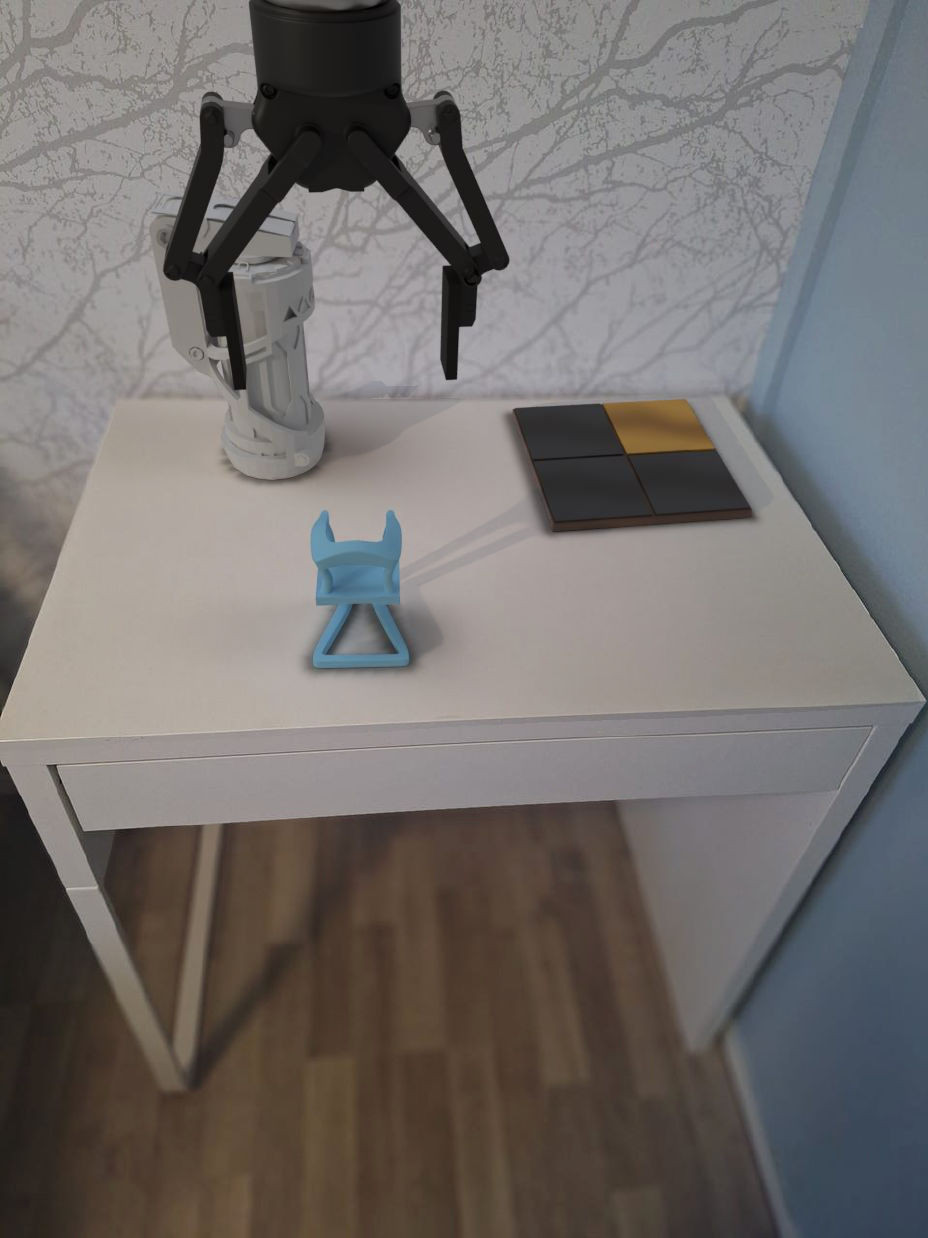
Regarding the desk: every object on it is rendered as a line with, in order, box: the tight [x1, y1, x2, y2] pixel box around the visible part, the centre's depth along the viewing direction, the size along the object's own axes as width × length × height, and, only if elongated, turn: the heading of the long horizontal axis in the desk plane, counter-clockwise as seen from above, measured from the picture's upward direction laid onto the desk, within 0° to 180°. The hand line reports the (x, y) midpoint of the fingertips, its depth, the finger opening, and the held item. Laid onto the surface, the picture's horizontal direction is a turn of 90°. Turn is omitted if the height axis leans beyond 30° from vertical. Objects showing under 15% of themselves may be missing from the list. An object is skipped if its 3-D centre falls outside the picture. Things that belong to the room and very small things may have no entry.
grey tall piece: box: [148, 189, 326, 481], centre depth 86 cm, size 13×10×25 cm
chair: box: [309, 509, 410, 669], centre depth 73 cm, size 8×8×12 cm
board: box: [511, 398, 753, 532], centre depth 96 cm, size 20×20×1 cm
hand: (346, 374), depth 60 cm, fingers open, 13 cm apart
